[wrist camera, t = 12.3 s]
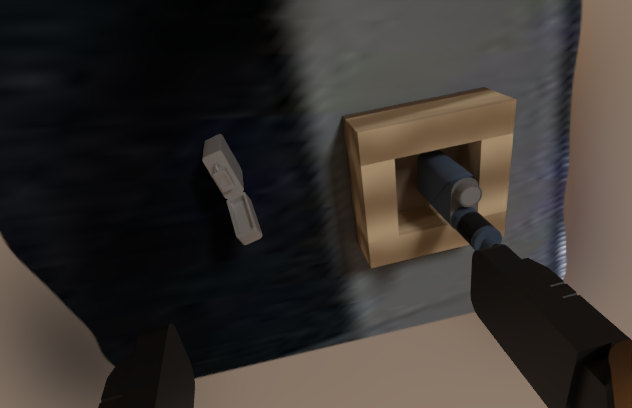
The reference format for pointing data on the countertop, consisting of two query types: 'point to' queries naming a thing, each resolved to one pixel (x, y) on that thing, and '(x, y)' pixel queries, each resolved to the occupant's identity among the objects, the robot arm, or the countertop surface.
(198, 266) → the countertop surface
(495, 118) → the block
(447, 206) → the vaping device
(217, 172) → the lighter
